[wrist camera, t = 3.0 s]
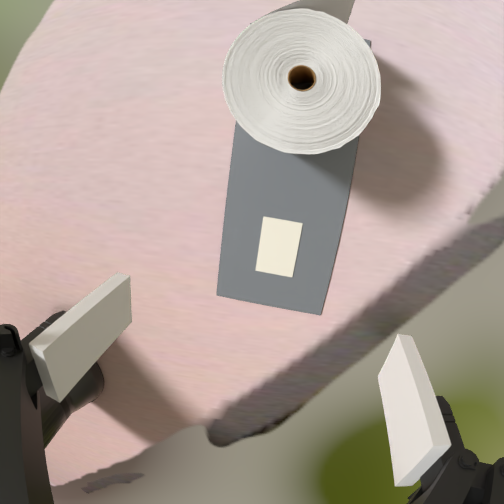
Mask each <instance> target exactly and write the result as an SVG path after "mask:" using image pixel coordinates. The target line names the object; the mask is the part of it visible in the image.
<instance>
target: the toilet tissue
mask: <svg viewBox="0 0 504 504" xmlns="http://www.w3.org/2000/svg"><path fill="white" fill-rule="evenodd" d="M354 1H355V0H300V1H297V2H294V3H292V4H289V5H287V6H284V7H282V8H280V9H277V10H275V11H273V12H271V13H269V14H267V15H265V16H263V17H261V18H260V19H258V20H256V21H255V22H253V23H252V24H250V25H249V26H248V27H247V28H246V29H245V30H243V31H242V32H241V33H240V34H239V36H238V37H237V38H236V39H235V41H234V42H233V43H232V45H231V47H230V49H229V51H228V53H227V55H226V58H225V62H224V66H223V71H222V86H223V91H224V96H225V101H226V103H227V105H228V107H229V109H230V112H231V113H232V115H233V116H234V118H235V119H236V121H237V122H238V124H239V125H240V126H241V127H242V128H243V129H244V130H245V131H246V132H247V133H248V134H249V135H250V136H252V137H253V138H254V139H255V140H256V141H258V142H260V143H261V144H263V145H265V146H268V147H270V148H273V149H276V150H279V151H282V152H285V153H293V154H306V155H310V154H319V153H324V152H327V151H330V150H332V149H337V148H340V147H342V146H343V145H344V144H345V143H348V142H350V141H352V140H353V139H354V138H355V137H357V136H358V135H359V134H360V133H361V132H362V131H363V130H364V128H365V127H366V126H367V124H368V123H369V121H370V120H371V119H372V117H373V115H374V112H375V111H376V109H377V107H378V106H379V102H380V95H381V81H380V73H379V68H378V64H377V61H376V59H375V57H374V55H373V53H372V51H371V49H370V47H369V46H368V45H367V43H366V42H365V40H364V39H363V38H362V37H361V36H360V35H359V34H358V33H357V32H356V31H355V30H354V29H353V28H352V27H350V26H349V25H347V23H348V20H349V17H350V14H351V11H352V7H353V4H354Z"/></svg>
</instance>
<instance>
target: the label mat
mask: <svg viewBox="0 0 504 504" xmlns="http://www.w3.org/2000/svg"><path fill="white" fill-rule="evenodd" d="M250 24H252V23H250ZM364 40H365V42H366V43H367V45H368V46H369V47H370V40H366V39H364ZM358 139H359V135H358V136H357V137H355V138H354V139H353V140H352V141H350V142H348V143H345V144H344V145H343V146H342V147H340V148H337V149H332V150H330V151H327V152H324V153H319V154H310V155H306V154H293V153H285V152H282V151H279V150H276V149H273V148H270V147H268V146H265V145H263V144H261V143H260V142H258V141H256V140H255V139H254V138H253V137H252V136H250V135H249V134H248V133H247V132H246V131H245V130H244V129H243V128H242V127H241V126H240V125H239V124H238V122H237V121H236V125H235V133H234V141H233V149H232V157H231V165H230V173H229V181H228V190H227V198H226V207H225V216H224V225H223V234H222V244H221V254H220V264H219V274H218V284H217V295H218V296H222V297H227V298H232V299H237V300H242V301H247V302H252V303H257V304H262V305H267V306H272V307H277V308H283V309H288V310H294V311H299V312H305V313H310V314H316V315H321V311H322V307H323V304H324V300H325V296H326V292H327V288H328V285H329V281H330V277H331V273H332V268H333V264H334V260H335V256H336V252H337V247H338V243H339V238H340V234H341V229H342V225H343V220H344V215H345V211H346V206H347V201H348V196H349V190H350V185H351V180H352V174H353V169H354V163H355V157H356V151H357V145H358Z"/></svg>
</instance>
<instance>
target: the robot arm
mask: <svg viewBox="0 0 504 504" xmlns="http://www.w3.org/2000/svg"><path fill="white" fill-rule="evenodd" d="M131 322H132V313H131V289H130V276H129V275H126V274H122V273H118V272H117V273H116V274H115V275H113V276H112V277H111V278H109V279H108V280H107V281H105V282H104V283H103V284H101V285H100V286H99V287H98V288H96V289H95V290H94V291H92V292H91V293H90V294H89V295H87V296H86V297H85V298H84V299H82V300H81V301H80V302H78V303H77V304H76V305H75V306H73V307H72V308H71V309H70V310H69V311H67V312H65V311H61V312H58V313H56V314H53V315H52V316H51V317H49V318H48V319H47V320H46V321H45V322H43V323H42V324H41V325H40V326H39V327H37V328H36V329H35V330H33V331H32V332H31V333H30V334H28V335H27V336H26V337H25V338H24V339H22V340H20V337H19V333H18V330H17V328H16V327H15V326H13V325H11V324H2V325H0V504H54V501H53V496H52V492H51V487H50V482H49V476H48V470H47V464H46V457H45V450H44V449H45V448H46V447H47V445H48V444H49V443H50V441H51V440H52V439H53V437H54V436H55V434H56V433H57V432H58V431H59V429H60V428H61V427H62V425H63V424H64V423H65V421H66V420H67V419H68V417H69V416H70V415H71V414H72V413H73V412H75V411H77V410H78V409H80V408H82V407H83V406H85V405H86V404H88V403H90V402H92V401H94V400H95V399H96V398H97V397H98V396H99V394H100V393H101V392H102V390H103V387H104V380H103V376H102V373H101V370H100V368H99V366H98V365H97V363H96V361H97V360H98V359H99V357H100V356H101V355H102V354H103V353H104V352H105V351H106V350H107V349H108V347H109V346H110V345H111V344H112V343H113V342H114V341H115V340H116V339H117V337H118V336H119V335H120V334H121V333H122V332H123V331H124V330H125V329H126V328H127V327H128V325H129V324H130V323H131ZM378 381H379V386H380V391H381V396H382V402H383V407H384V412H385V418H386V424H387V430H388V436H389V443H390V450H391V457H392V465H393V473H394V482H395V486H412V485H413V484H414V483H415V482H416V481H418V480H419V479H420V480H421V487H419V488H418V489H417V490H416V491H415V492H414V493H413V494H411V495H410V496H409V497H408V499H410V500H409V502H408V503H407V504H504V457H502V458H500V459H498V460H497V461H496V462H495V463H494V464H493V465H491V464H486V463H482V462H479V459H478V458H477V456H476V454H474V453H473V452H472V451H470V450H468V449H465V448H464V445H463V442H462V439H461V436H460V433H459V430H458V427H457V424H456V423H455V419H454V416H453V413H452V410H451V408H450V405H449V404H448V402H447V401H446V400H445V399H444V397H443V396H435V394H434V391H433V388H432V385H431V383H430V380H429V377H428V375H427V372H426V370H425V367H424V364H423V362H422V359H421V357H420V354H419V352H418V350H417V347H416V345H415V342H414V340H413V338H412V336H410V335H403V334H398V335H397V337H396V339H395V342H394V344H393V346H392V348H391V350H390V352H389V355H388V357H387V359H386V361H385V363H384V365H383V367H382V369H381V371H380V373H379V375H378Z"/></svg>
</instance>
